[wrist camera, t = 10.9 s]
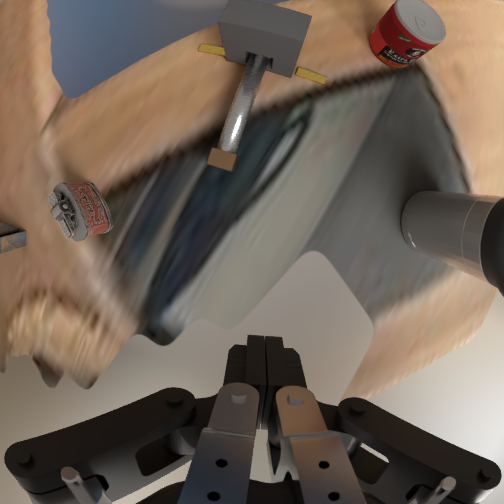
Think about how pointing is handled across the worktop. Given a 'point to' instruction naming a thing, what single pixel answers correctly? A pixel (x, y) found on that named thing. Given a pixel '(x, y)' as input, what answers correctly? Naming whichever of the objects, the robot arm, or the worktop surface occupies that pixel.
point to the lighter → (80, 210)
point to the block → (263, 34)
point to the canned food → (406, 33)
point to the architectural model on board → (11, 238)
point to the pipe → (242, 107)
